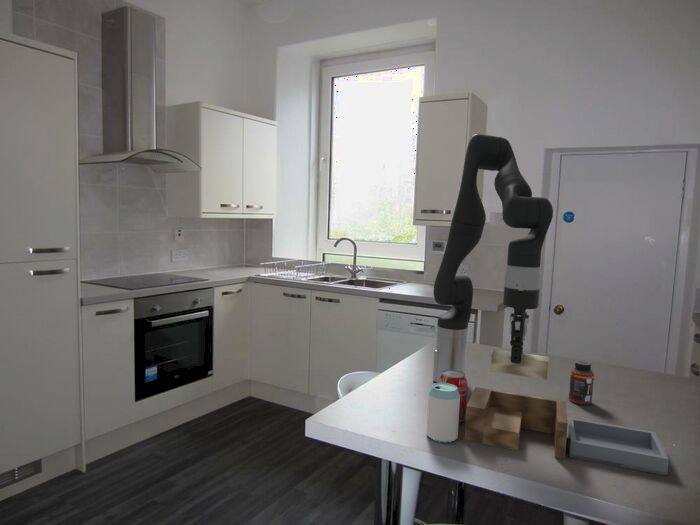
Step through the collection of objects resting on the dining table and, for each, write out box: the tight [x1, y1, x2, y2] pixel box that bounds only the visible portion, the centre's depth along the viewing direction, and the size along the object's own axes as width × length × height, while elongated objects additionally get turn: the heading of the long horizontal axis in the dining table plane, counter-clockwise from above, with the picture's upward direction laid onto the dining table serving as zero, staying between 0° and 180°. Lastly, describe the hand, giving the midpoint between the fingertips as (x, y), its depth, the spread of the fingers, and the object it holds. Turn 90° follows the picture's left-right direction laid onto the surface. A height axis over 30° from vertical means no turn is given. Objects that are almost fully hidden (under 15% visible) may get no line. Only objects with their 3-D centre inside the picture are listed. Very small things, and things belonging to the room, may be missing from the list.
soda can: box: [439, 370, 468, 424], centre depth 123 cm, size 7×7×12 cm
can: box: [426, 382, 460, 443], centre depth 112 cm, size 7×7×12 cm
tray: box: [567, 417, 670, 477], centre depth 109 cm, size 18×14×4 cm
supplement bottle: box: [568, 360, 595, 406], centre depth 139 cm, size 6×6×11 cm
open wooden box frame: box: [464, 386, 568, 460], centre depth 114 cm, size 21×14×8 cm, turn 68°
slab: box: [490, 349, 549, 381], centre depth 112 cm, size 12×4×4 cm, turn 68°
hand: (516, 359), depth 112 cm, fingers closed on slab, 4 cm apart
